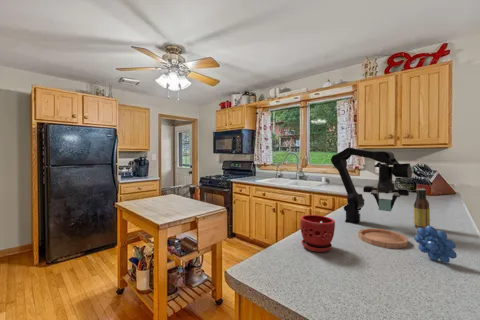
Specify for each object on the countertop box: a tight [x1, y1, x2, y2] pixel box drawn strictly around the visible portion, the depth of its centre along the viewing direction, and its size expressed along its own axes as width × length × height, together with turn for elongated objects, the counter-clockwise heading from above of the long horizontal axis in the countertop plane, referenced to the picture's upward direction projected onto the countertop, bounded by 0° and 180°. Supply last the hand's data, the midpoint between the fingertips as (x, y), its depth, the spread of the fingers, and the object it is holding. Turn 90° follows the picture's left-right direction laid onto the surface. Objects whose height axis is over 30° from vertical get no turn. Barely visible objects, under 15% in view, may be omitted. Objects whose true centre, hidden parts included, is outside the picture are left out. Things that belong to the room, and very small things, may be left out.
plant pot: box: [300, 214, 336, 253], centre depth 91 cm, size 13×13×12 cm
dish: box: [357, 228, 409, 249], centre depth 99 cm, size 18×18×2 cm
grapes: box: [414, 225, 458, 264], centre depth 79 cm, size 12×7×12 cm, turn 37°
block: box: [378, 197, 393, 212], centre depth 113 cm, size 5×5×5 cm
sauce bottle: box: [413, 188, 431, 229], centre depth 115 cm, size 7×6×20 cm
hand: (385, 207), depth 113 cm, fingers closed on block, 5 cm apart
